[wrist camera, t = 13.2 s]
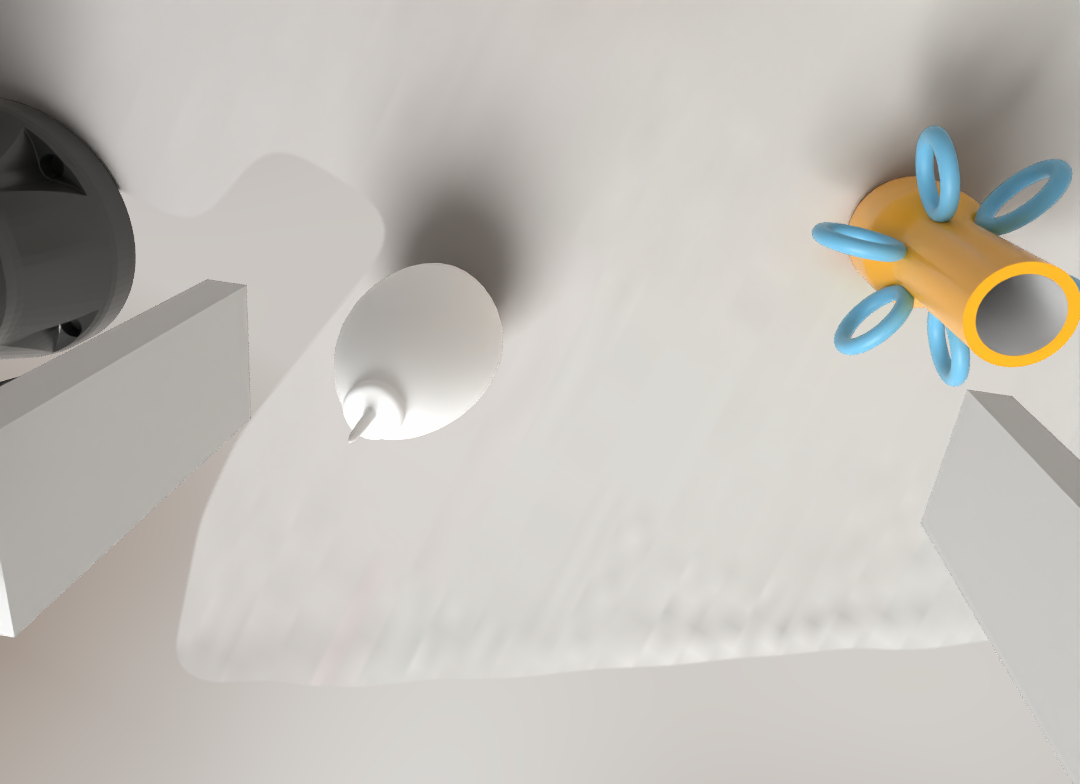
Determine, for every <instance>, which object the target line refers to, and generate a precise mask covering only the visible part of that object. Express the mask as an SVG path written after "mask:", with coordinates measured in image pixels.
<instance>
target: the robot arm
mask: <svg viewBox="0 0 1080 784" xmlns="http://www.w3.org/2000/svg"><path fill="white" fill-rule="evenodd" d="M134 272H135V242H134V235H133V230H132V226H131V222H130V218H129V215H128V212H127V209H126V206H125V204H124V201H123V199H122V197H121V195H120V192H119V190H118V188H117V187H116V185H115V183H114V181H113V179H112V178H111V176H110V175H109V173H108V172H107V170H106V169H105V167H104V166H103V165H102V163H101V162H100V161H99V159H98V158H97V157H96V156H95V154H94V153H93V152H92V151H91V150H90V149H89V148H88V147H87V146H86V145H85V144H84V143H83V142H82V141H81V140H80V139H79V138H78V137H77V136H76V135H75V134H73V133H72V132H71V131H70V130H69V129H67V128H66V127H65V126H63V125H62V124H60V123H59V122H57V121H56V120H54V119H53V118H51V117H49V116H48V115H46V114H44V113H42V112H40V111H38V110H36V109H34V108H32V107H29V106H27V105H24V104H21V103H18V102H15V101H11V100H7V99H1V98H0V359H12V358H30V357H40V356H46V355H50V354H54V353H58V352H61V351H64V350H66V349H69V348H71V347H73V346H75V345H77V344H79V343H81V342H83V341H85V340H87V339H89V338H91V337H93V336H94V335H96V334H98V333H99V332H101V331H102V330H103V329H105V328H106V327H107V326H108V325H109V324H110V323H111V322H112V321H113V320H114V319H115V318H116V316H117V315H118V314H119V312H120V311H121V309H122V308H123V306H124V304H125V302H126V300H127V298H128V295H129V293H130V290H131V286H132V283H133V278H134ZM247 313H248V312H247V285H242V284H235V283H228V282H222V281H215V280H208V279H207V280H205V281H203V282H201V283H199V284H197V285H195V286H193V287H191V288H190V289H187V290H186V291H184V292H182V293H180V294H178V295H176V296H174V297H172V298H170V299H168V300H166V301H164V302H162V303H160V304H159V305H157V306H155V307H153V308H151V309H149V310H147V311H145V312H143V313H141V314H139V315H137V316H135V317H134V318H131V319H130V320H128V321H126V322H124V323H122V324H120V325H118V326H116V327H114V328H112V329H110V330H108V331H106V332H104V333H103V334H101V335H99V336H97V337H95V338H93V339H91V340H89V341H87V342H85V343H83V344H82V345H80V346H77V347H75V348H74V349H72V350H70V351H68V352H66V353H64V354H62V355H60V356H58V357H56V358H54V359H52V360H50V361H48V362H47V363H45V364H43V365H41V366H39V367H37V368H35V369H33V370H31V371H29V372H27V373H25V374H23V375H22V376H19V377H16V378H12V379H9V380H5V381H2V382H0V635H4V636H9V637H16V635H18V634H19V633H20V632H21V631H22V630H23V629H24V628H25V627H26V626H27V625H28V624H30V622H32V621H33V620H34V619H35V618H36V617H37V616H38V615H39V614H40V613H41V612H42V611H44V610H45V609H46V608H47V607H48V606H49V605H50V604H51V603H52V602H53V601H54V600H55V599H56V598H58V597H59V596H60V595H61V594H62V593H63V592H64V591H65V590H66V589H67V588H68V587H69V586H71V585H72V584H73V583H74V582H75V581H76V580H77V579H78V578H79V577H80V576H81V575H82V574H83V573H85V572H86V571H87V570H88V569H89V568H90V567H91V566H92V565H93V564H94V563H95V562H96V561H97V560H98V559H100V558H101V557H102V556H103V555H104V554H105V553H106V552H107V551H108V550H109V549H110V548H111V547H112V546H114V545H115V544H116V543H117V542H118V541H119V540H120V539H121V538H122V537H123V536H125V535H126V534H127V533H128V532H129V531H130V530H131V529H132V528H133V527H134V526H135V525H136V524H137V523H138V522H140V521H141V520H142V519H143V518H144V517H145V516H146V515H147V514H148V513H149V512H150V511H151V510H153V509H154V508H155V507H156V506H157V505H158V504H159V503H160V502H161V501H162V500H163V499H164V498H166V497H167V496H168V495H169V494H170V493H171V492H172V491H173V490H174V489H175V488H176V487H177V486H178V485H180V483H182V482H183V481H184V480H185V479H186V478H187V477H188V476H189V475H190V474H191V473H193V471H194V470H196V469H197V468H198V467H199V466H200V465H201V464H202V463H203V462H204V461H205V460H207V459H208V458H209V457H210V456H211V455H212V454H213V453H214V452H215V451H216V450H217V449H218V448H219V447H221V446H222V445H223V444H224V443H225V442H226V441H227V440H228V439H229V438H230V437H231V436H232V435H234V434H235V433H236V432H237V431H238V430H239V429H240V428H241V427H242V426H243V425H244V424H245V423H246V422H248V421H249V420H250V419H251V403H250V372H249V342H248V314H247ZM921 524H922V526H923V528H924V529H925V531H926V533H927V535H928V536H929V538H930V540H931V541H932V543H933V545H934V547H935V548H936V550H937V552H938V553H939V555H940V557H941V559H942V560H943V562H944V564H945V565H946V567H947V569H948V571H949V572H950V574H951V576H952V577H953V579H954V581H955V583H956V584H957V586H958V588H959V590H960V591H961V593H962V595H963V596H964V598H965V600H966V602H967V603H968V605H969V607H970V608H971V610H972V612H973V614H974V615H975V617H976V619H977V620H978V622H979V624H980V626H981V627H982V629H983V631H984V632H985V634H986V636H987V638H988V639H989V641H990V643H991V644H992V646H993V648H994V650H995V651H996V653H997V655H998V656H999V658H1000V660H1001V662H1002V663H1003V665H1004V667H1005V668H1006V670H1007V672H1008V674H1009V675H1010V677H1011V679H1012V681H1013V682H1014V684H1015V685H1016V687H1017V689H1018V691H1019V693H1020V694H1021V696H1022V698H1023V699H1024V701H1025V703H1026V704H1027V706H1028V708H1029V710H1030V711H1031V713H1032V714H1033V716H1034V718H1035V720H1036V722H1037V723H1038V725H1039V727H1040V729H1041V730H1042V732H1043V734H1044V735H1045V737H1046V739H1047V740H1048V742H1049V744H1050V746H1051V747H1052V749H1053V751H1054V752H1055V754H1056V756H1057V758H1058V759H1059V761H1060V763H1061V765H1062V766H1063V768H1064V770H1065V771H1066V773H1067V775H1068V776H1069V778H1070V780H1071V782H1072V784H1080V460H1079V459H1078V458H1077V457H1076V456H1075V455H1074V454H1073V453H1072V452H1071V451H1070V450H1069V449H1068V448H1067V447H1065V446H1064V445H1063V444H1062V443H1061V442H1060V441H1059V440H1058V439H1057V438H1056V437H1055V436H1054V435H1053V434H1052V433H1051V432H1050V431H1048V430H1047V429H1046V428H1045V427H1044V426H1043V425H1042V424H1041V423H1040V422H1039V421H1038V420H1037V419H1036V418H1035V417H1034V416H1033V415H1031V414H1030V413H1029V412H1028V411H1027V410H1026V409H1025V408H1024V407H1023V406H1022V405H1021V404H1020V403H1019V402H1018V401H1017V400H1016V399H1014V398H1013V397H1012V396H1007V395H1000V394H993V393H987V392H980V391H973V390H967V392H966V395H965V398H964V401H963V403H962V406H961V409H960V412H959V415H958V418H957V421H956V423H955V426H954V429H953V432H952V435H951V438H950V441H949V444H948V446H947V449H946V452H945V455H944V458H943V461H942V464H941V467H940V469H939V472H938V475H937V478H936V481H935V484H934V487H933V490H932V492H931V495H930V498H929V501H928V504H927V507H926V510H925V513H924V515H923V518H922V521H921Z"/></svg>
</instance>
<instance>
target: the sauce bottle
mask: <svg viewBox="0 0 1080 784" xmlns="http://www.w3.org/2000/svg"><path fill="white" fill-rule="evenodd" d="M502 349H503V332H502V324H501V321H500V317H499V314H498V311H497V309H496V306H495V304H494V302H493V300H492V298H491V297H490V295H489V294H488V293H487V291H486V290H485V288H484V287H483V286H482V285H481V284H480V283H479V282H478V281H477V280H476V279H475V278H474V277H473V276H471V275H470V274H468V273H467V272H466V271H464V270H462V269H459V268H457V267H455V266H452V265H447V264H442V263H424V264H419V265H414V266H410V267H407V268H404V269H402V270H400V271H397V272H395V273H393V274H391V275H389V276H387V277H386V278H384V279H383V280H381V281H380V282H378V283H377V284H375V285H374V286H373V287H372V288H371V289H370V290H368V291H367V292H366V293H365V294H364V295H363V296H362V297H361V298H360V300H359V301H358V302H357V303H356V304H355V306H354V307H353V309H352V310H351V312H350V313H349V315H348V316H347V318H346V320H345V322H344V323H343V326H342V328H341V331H340V334H339V337H338V340H337V343H336V347H335V354H334V380H335V386H336V391H337V394H338V397H339V400H340V403H341V405H342V407H343V414H344V416H345V419H346V421H347V423H348V424H349V426H350V427H351V428H352V429H353V430H352V432H351V434H350V436H349V439H348V442H349V443H352V442H354V441H355V440H356V439H357V438H358V437H359V436H362V437H364V438H367V439H386V440H402V439H408V438H414V437H418V436H422V435H425V434H427V433H430V432H433V431H435V430H438V429H440V428H442V427H444V426H445V425H447V424H449V423H450V422H452V421H454V420H456V419H457V418H459V417H460V416H461V415H463V414H464V413H465V412H466V411H467V410H468V409H470V408H471V407H472V406H473V405H474V404H475V403H476V402H477V401H478V400H479V399H480V397H481V396H482V395H483V393H484V392H485V391H486V390H487V388H488V387H489V385H490V384H491V382H492V380H493V378H494V376H495V374H496V371H497V369H498V367H499V364H500V361H501V356H502Z"/></svg>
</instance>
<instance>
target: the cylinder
mask: <svg viewBox="0 0 1080 784" xmlns="http://www.w3.org/2000/svg"><path fill="white" fill-rule="evenodd" d="M934 153H935V157H936V160H937V164H938V170H939V177H940V182H939V181H937V180H935V173H934ZM915 166H916V176H908V177H901V178H897V179H894V180H891V181H889V182H886V183H884V184H882V185H881V186H879V187H877V188H876V189H874V190H873V191H872V192H870V193H869V194H868V195H867V196H866V197H865V198H864V199H863V200H862V201H861V203H860V204H859V205H858V207H857V208H856V210H855V211H854V213H853V215H852V218H851V220H850V223H849V225H846V224H840V223H830V222H824V223H819V224H817V225H816V226H815V227H814V228H813V230H812V236H813V238H814V239H815V240H816V241H817V242H818V243H820V244H821V245H823V246H826V247H828V248H830V249H833V250H836V251H839V252H842V253H845V254H848V255H849V257H850V259H851V262H852V264H853V265H854V267H855V268H856V270H857V271H858V272H859V273H860V274H861V276H862V277H863V278H864V279H865V280H866V281H867V282H868V283H869V284H870V285H871V286H872V287H873V288H874V289H875V290H876V292H874V293H873V294H871V295H870V296H868V297H867V298H865V299H864V300H862V301H861V302H860V303H859V304H858V305H856V306H855V307H854V308H853V309H852V310H851V311H850V312H849V313H848V314H847V315H846V317H845V318H844V319H843V320H842V322H841V323H840V325H839V327H838V329H837V331H836V333H835V337H834V344H835V347H836V348H837V350H838V351H839V352H841V353H843V354H846V355H856V354H860V353H863V352H866V351H868V350H870V349H872V348H874V347H876V346H878V345H879V344H881V343H882V342H884V341H885V340H886V339H888V338H889V337H890V336H891V335H892V334H893V333H895V332H896V331H897V330H898V329H899V328H900V327H901V325H902V324H903V323H904V322H905V321H906V319H907V318H908V316H909V315H910V313H911V311H912V308H926V309H927V310H928V311H929V312H928V319H927V330H928V340H929V346H930V351H931V355H932V359H933V362H934V365H935V367H936V370H937V372H938V374H939V376H940V377H941V379H942V380H943V381H944V382H945V383H946V384H948V385H950V386H959V385H961V384H962V383H964V381H965V380H966V378H967V376H968V373H969V367H970V351H969V348H970V349H971V350H972V351H973V352H974V353H975V354H976V355H978V356H979V357H980V358H982V359H983V360H985V361H987V362H989V363H992V364H995V365H998V366H1004V367H1020V366H1026V365H1030V364H1033V363H1036V362H1039V361H1041V360H1043V359H1045V358H1047V357H1049V356H1051V355H1052V354H1054V353H1055V352H1056V351H1058V350H1059V349H1060V348H1061V347H1062V346H1063V345H1064V344H1065V343H1066V342H1067V341H1068V340H1069V338H1070V337H1071V336H1072V334H1073V333H1074V331H1075V329H1076V327H1077V325H1078V322H1079V319H1080V280H1078V279H1077V278H1075V277H1073V276H1071V275H1068V274H1067V273H1066V272H1065V271H1063V270H1062V269H1060V268H1058V267H1056V266H1054V265H1052V264H1050V263H1049V262H1047V261H1045V260H1043V259H1041V258H1039V257H1037V256H1035V255H1033V254H1031V253H1029V252H1028V251H1026V250H1024V249H1022V248H1020V247H1018V246H1016V245H1014V244H1012V243H1011V242H1009V241H1007V240H1005V239H1003V238H1001V237H999V236H997V235H1002V234H1006V233H1009V232H1012V231H1014V230H1016V229H1018V228H1020V227H1022V226H1024V225H1026V224H1028V223H1029V222H1031V221H1033V220H1034V219H1036V218H1037V217H1039V216H1040V215H1041V214H1043V213H1044V212H1045V211H1046V210H1048V209H1049V208H1050V207H1051V206H1052V205H1053V204H1054V203H1055V202H1056V201H1057V200H1058V199H1059V198H1060V197H1061V196H1062V195H1063V193H1064V192H1065V191H1066V189H1067V188H1068V186H1069V184H1070V182H1071V179H1072V169H1071V167H1070V165H1069V164H1068V163H1067V162H1065V161H1063V160H1059V159H1050V160H1045V161H1041V162H1038V163H1036V164H1033V165H1031V166H1029V167H1027V168H1025V169H1023V170H1021V171H1020V172H1018V173H1016V174H1015V175H1013V176H1012V177H1010V178H1009V179H1007V180H1006V181H1005V182H1003V183H1002V184H1001V185H1000V186H999V187H997V188H996V189H995V190H994V191H993V192H992V193H991V194H990V195H989V196H988V197H987V198H986V199H985V201H984V202H983V203H982V204H981V206H980V204H979V203H978V202H976V201H975V200H974V199H973V198H972V197H970V196H969V195H967V194H965V193H964V192H962V191H960V172H959V164H958V159H957V155H956V151H955V148H954V145H953V142H952V140H951V138H950V136H949V135H948V133H947V132H946V131H945V130H944V129H943V128H941V127H939V126H930V127H928V128H926V129H925V130H924V131H923V132H922V133H921V135H920V137H919V139H918V142H917V147H916V157H915ZM1049 177H1050V179H1049V181H1048V183H1047V184H1046V185H1045V186H1044V188H1043V189H1042V190H1041V191H1040V192H1039V193H1038V194H1037V195H1035V196H1034V197H1033V198H1032V199H1031V200H1029V201H1028V202H1027V203H1025V204H1024V205H1022V206H1021V207H1019V208H1018V209H1016V210H1014V211H1012V212H1011V213H1009V214H1006V215H1004V216H1001V217H998V218H994V217H995V215H996V213H997V212H998V211H999V209H1000V208H1001V207H1002V206H1003V205H1004V204H1005V203H1006V202H1007V201H1008V200H1009V199H1010V198H1012V197H1013V196H1014V195H1015V194H1017V193H1018V192H1020V191H1021V190H1023V189H1024V188H1026V187H1027V186H1029V185H1031V184H1033V183H1035V182H1037V181H1039V180H1042V179H1045V178H1049ZM890 302H893V303H895V305H894V307H893V309H892V310H891V311H890V313H889V314H888V315H887V316H886V317H885V318H884V319H883V320H882V321H881V322H880V323H879V324H878V325H876V326H875V327H874V328H873V329H871V330H870V331H868V332H867V333H865V334H863V335H861V336H859V337H856V338H853V339H851V337H852V335H853V333H854V331H855V330H856V328H857V327H858V326H859V325H860V323H861V322H862V321H863V320H864V319H865V318H867V317H868V316H869V315H870V314H871V313H873V312H874V311H875V310H877V309H878V308H880V307H882V306H883V305H885V304H888V303H890ZM945 327H946V330H947V334H948V338H949V343H950V350H951V359H950V356H949V352H948V348H947V344H946V338H945Z"/></svg>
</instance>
